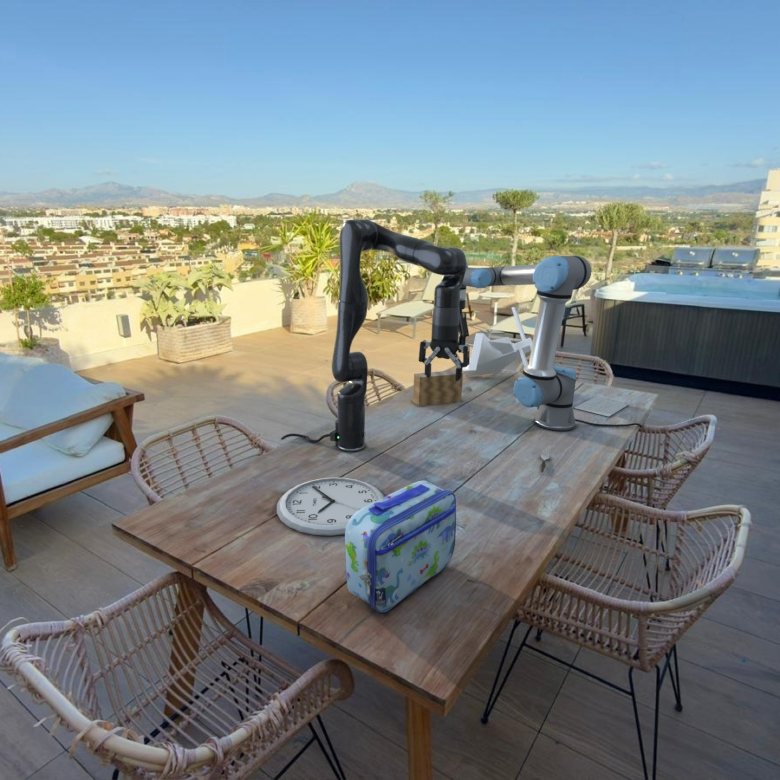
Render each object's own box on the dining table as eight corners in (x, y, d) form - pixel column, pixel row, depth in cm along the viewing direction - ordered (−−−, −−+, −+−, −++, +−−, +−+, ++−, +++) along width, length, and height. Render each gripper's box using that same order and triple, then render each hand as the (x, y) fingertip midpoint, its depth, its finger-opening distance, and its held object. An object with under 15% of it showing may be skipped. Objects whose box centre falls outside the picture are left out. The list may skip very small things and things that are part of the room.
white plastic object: (482, 418, 267) (461, 395, 242) (463, 346, 289) (443, 318, 265) (552, 394, 255) (538, 367, 230) (527, 321, 277) (512, 289, 252)
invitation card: (608, 416, 214) (573, 407, 224) (608, 416, 214) (573, 408, 224) (628, 404, 229) (594, 396, 238) (628, 405, 229) (594, 397, 238)
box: (454, 397, 236) (456, 369, 232) (461, 401, 230) (462, 373, 226) (413, 401, 228) (414, 373, 225) (418, 406, 223) (419, 377, 219)
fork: (537, 473, 163) (538, 467, 163) (541, 453, 178) (542, 448, 177) (546, 474, 163) (546, 468, 162) (549, 454, 177) (550, 449, 176)
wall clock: (392, 527, 129) (268, 531, 127) (391, 533, 130) (269, 537, 127) (383, 473, 158) (282, 475, 155) (383, 478, 158) (282, 480, 156)
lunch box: (374, 626, 100) (375, 530, 93) (338, 598, 107) (337, 508, 101) (459, 568, 117) (465, 484, 111) (424, 547, 124) (427, 467, 118)
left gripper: (416, 322, 144) (415, 379, 148) (467, 326, 139) (464, 385, 143) (425, 318, 150) (423, 372, 155) (474, 322, 145) (470, 378, 150)
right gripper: (435, 295, 228) (433, 343, 235) (463, 303, 206) (460, 356, 213) (450, 295, 231) (448, 342, 237) (479, 303, 209) (476, 354, 215)
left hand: (442, 378), depth 149 cm, fingers open, 8 cm apart
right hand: (453, 348), depth 225 cm, fingers open, 13 cm apart
